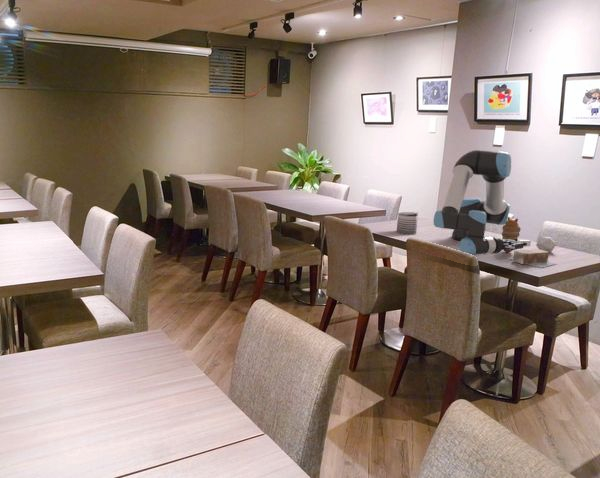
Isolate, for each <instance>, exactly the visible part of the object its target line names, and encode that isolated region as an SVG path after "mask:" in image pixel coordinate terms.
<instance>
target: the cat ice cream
mask: <svg viewBox="0 0 600 478" xmlns="http://www.w3.org/2000/svg"><path fill="white" fill-rule="evenodd" d="M518 222H519V218H515V219H514V218H511V217H510V216H508V218H507V221H506V224H504V225H502V232H501V236H502V239H513V240H515V239H518V238H519V236H520V233H521V227H520V226H519V223H518ZM518 240H519V239H518ZM503 251H504V252H505V253H507V254H508V253H512V251H513V250H511V248H510V249H506V250H503Z"/></svg>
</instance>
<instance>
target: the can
mask: <svg viewBox="0 0 600 478" xmlns="http://www.w3.org/2000/svg"><path fill="white" fill-rule="evenodd" d="M418 214H419V212H413V211H404V212H398V213H397V222H396V223H397V224H396V233H398V234H401V235H405V236H407V235H408V236H411V235H413V236H414V235H416V234H417V228H418V221H419V220H418V218H419V215H418Z"/></svg>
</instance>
